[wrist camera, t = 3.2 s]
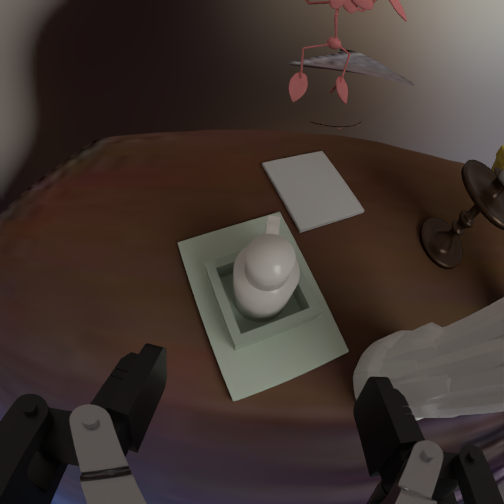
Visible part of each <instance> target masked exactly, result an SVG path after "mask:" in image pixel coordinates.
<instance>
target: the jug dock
mask: <svg viewBox="0 0 504 504" xmlns="http://www.w3.org/2000/svg"><path fill="white" fill-rule="evenodd" d="M270 216H276V217H281V218H280V226H279V236H282V237H283V238H285V239H286V240H288V241H289V242H290V244H291V245H292V246H293V248H294V251H295V255H296V260H297V262H298V264H299V269H300V277H299V281H298V284H297V286H296V288H295V290H294V291H293V293H292V295H291V297H290V298H289V300H288V302H287V303H286V305H285V307H284V309H283V310H282V312H281V313H280V314H279V315H278V316H277V317H276V318H274V319H272V320H270V321H267V322H254V321H250V320H248V319H246V318H245V317H243V316H242V315H241V314H240V313H239V312H238V310H237V309H236V307H235V304H234V299H233V269H234V263H235V260H236V258H237V256H238V254H239V253H240V252H241V251H242V250H243V249H244V248H245V247H247V246H248V245H249V244H250V242H251V241H252V240H253V239H254V238H256V237H258V236H260V235H263V234H265V230H266V225H267V220H268V215H267V216H264V217H260V218H257V219H253V220H250V221H247V222H243V223H240V224H236V225H233V226H230V227H226V228H223V229H220V230H216V231H213V232H210V233H207V234H203V235H200V236H197V237H194V238H191V239H187V240H184V241H181V242H178V246H179V249H180V253H181V256H182V259H183V263H184V266H185V269H186V272H187V276H188V279H189V282H190V285H191V288H192V291H193V294H194V297H195V300H196V303H197V306H198V309H199V312H200V315H201V318H202V321H203V324H204V326H205V329H206V332H207V335H208V338H209V340H210V343H211V346H212V348H213V351H214V354H215V357H216V359H217V362H218V364H219V367H220V370H221V372H222V375H223V377H224V380H225V382H226V385H227V387H228V390H229V392H230V395H231V397H232V400H233V402H234V401H236V400H239V399H242V398H245V397H248V396H250V395H253V394H256V393H258V392H261V391H263V390H266V389H269V388H271V387H274V386H276V385H278V384H281V383H283V382H286V381H288V380H290V379H293V378H295V377H297V376H299V375H302V374H304V373H306V372H308V371H311V370H313V369H315V368H317V367H319V366H321V365H323V364H325V363H327V362H329V361H331V360H333V359H335V358H337V357H339V356H341V355H343V354H345V353H347V352H349V350H348V348H347V346H346V344H345V342H344V339H343V337H342V335H341V333H340V331H339V329H338V327H337V324H336V322H335V320H334V318H333V316H332V314H331V312H330V310H329V308H328V306H327V304H326V301H325V299H324V297H323V295H322V293H321V291H320V289H319V287H318V285H317V283H316V281H315V279H314V277H313V275H312V273H311V271H310V269H309V267H308V265H307V263H306V261H305V259H304V257H303V255H302V253H301V251H300V249H299V248H298V246H297V244H296V242H295V240H294V238H293V236H292V234H291V232H290V230H289V228H288V226H287V225H286V223H285V221H284V219H283V217H282V215H281V213H280V212H278V213H274V214H271V215H270Z"/></svg>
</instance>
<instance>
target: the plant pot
mask: <svg viewBox="0 0 504 504" xmlns="http://www.w3.org/2000/svg"><path fill="white" fill-rule="evenodd" d="M495 167H498V168H499V169H501V170H503V169H504V145H502V146H501V147H500V149H499V150H498V152H497V153H496V160H495V162H494V164H493V166H492V169H491V170H492V171H493V172H494V168H495ZM494 173H495V172H494Z"/></svg>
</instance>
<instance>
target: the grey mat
mask: <svg viewBox="0 0 504 504" xmlns="http://www.w3.org/2000/svg"><path fill="white" fill-rule="evenodd" d="M262 166H263V168H264V170H265V171H266V173H267V175H268V177H269V178H270V180H271V182H272V184H273V185H274V187H275V189H276V191H277V192H278V194H279V196H280V198H281V200H282V201H283V203H284V205H285V207H286V208H287V210H288V212H289V214H290V216H291V218H292V219H293V221H294V223H295V225H296V227H297V229H298V230H299V232H300V233H301V232H304V231H308V230H311V229H314V228H317V227H320V226H323V225H326V224H330V223H333V222H336V221H339V220H342V219H345V218H349V217H352V216H355V215H358V214H361V213H363V212H364V209H363V208H362V206H361V205H360V203H359V202H358V200H357V199H356V197H355V196H354V194H353V193H352V191H351V190H350V188H349V187H348V186H347V184H346V183H345V181H344V180H343V178H342V177H341V176H340V174H339V173H338V172H337V170H336V169H335V167H334V166H333V165H332V163H331V162H330V161H329V159H328V158H327V157H326V155H325V154H324V153H323V151H320V152H314V153H309V154H304V155H298V156H293V157H288V158H283V159H278V160H274V161H269V162H264V163H262Z"/></svg>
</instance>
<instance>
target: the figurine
mask: <svg viewBox="0 0 504 504" xmlns="http://www.w3.org/2000/svg"><path fill="white" fill-rule="evenodd" d="M305 1H306V2H307V3H308V2H309V1H308V0H305ZM375 1H377V0H373V1H371V0H330V1H319V2H309V3H308V4H327V3H330V6H331V8H333V9H336V12H335V17H334V20H335V37H331V38H329V39H328V40H327V44H323V45H315V46H309V47H303V48H302V58H301V71H300V72H298V73H296V74H295V75H294V76H293V77H292V78H291V80H290V83H289V93H290V96H291V99H292V102H294V101H296V100H297V99H299V98H300V97H301V96H303V94H304V93H305V91H306V90H307V85H308V81H307V76H306V75H305V74H304V73H302V68H303V57H304V49H306V48H313V47H320V46H329V47H330V48H331V49H338V48H341V49H342V50H344V51H345V52H346V53H348V58H347V61H346V64H345V67H344V71H343V74H342V77H341V76H339V77H337V79H336V85H335V86H334V87H333V88H332V90H331V91H330V93H332V92H333V91H334V90H335V88H336V90H337V93H338V95H339V97H340V99H341V100H342V101H343V102H344V103H345V104H346V103H347V97H348V88H347V85H346V82H345V80H344V79H343V76H344V73H345V70H346V66H347V63H348V60H349V57H350V53H349V52H348V51H346V50H345V49H344V48H342V47H341V42H340V40H339V39H338V38H337V20H338V19H337V17H338V10H339V8H340V7H341V6H343V7H344V9H345V10H346V11H347V12H349V13H354V12H355V11H356V10H358V11H361V12H364V11H365V10H371V9H372V8H373V3H374V2H375ZM389 1H390V3H391V5H392V6H393V8H394V9H395V10H396V12H397V13H398V14H399V15H400V16H401V17H402V18H403V19H404V20H405V21H407V20H406V16H405V12H404V10H403V8H402V6H401V4H400V2H399V1H398V0H389ZM357 7H360V8H362V9H363V10H364V11H363V10H362V9H359V8H357ZM312 123H314V122H312ZM315 124H316V123H315ZM320 125H322V124H320ZM325 126H327V125H325ZM333 127H335V126H333ZM339 127H340V126H339ZM346 127H347V126H346Z"/></svg>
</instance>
